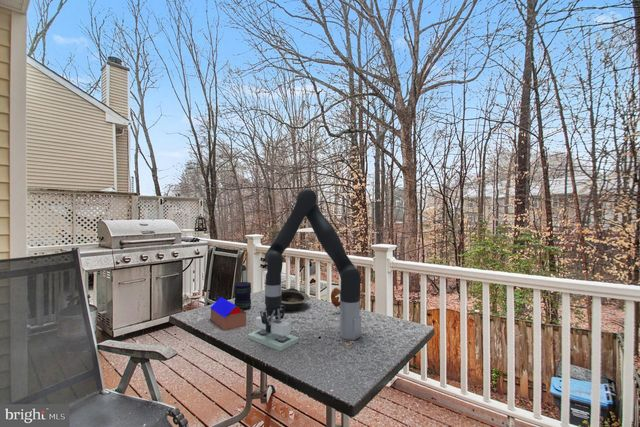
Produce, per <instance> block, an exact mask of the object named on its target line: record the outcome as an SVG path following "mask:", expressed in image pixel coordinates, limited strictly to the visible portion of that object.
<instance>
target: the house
mask: <svg viewBox="0 0 640 427" xmlns="http://www.w3.org/2000/svg"><path fill="white" fill-rule="evenodd" d="M209 309H210V320H211V322H213V323H214V324H215V325H217V326H218V327H220V328H221V329H222V330H224V331H230V330H233V329H237V328H241V327H245V326H247V312H246V311H243V310H242V309H240V308H239V307H238V306H236V305H234V302H233V303H232V302H231V301H229V300H227V299H225V298H224V297H223V296H220V297H219V298H218V299H217V300H216V301H215V302H214V303H213V304H212V305H211V306H210V307H209Z"/></svg>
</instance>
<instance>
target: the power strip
mask: <svg viewBox="0 0 640 427" xmlns="http://www.w3.org/2000/svg"><path fill="white" fill-rule="evenodd" d="M268 322H269V319H268ZM270 325H271V332H274V333H276V334H279V336H278V340H279V342H286V341H285V340H286V339H287V336H285V335H286V334H290V333H292V323H290V322H287V321H284V320H282V319H281V320H278V319H275V317H273V319H272V320H271V324H270ZM255 327H257V328H259V330H260V329H261V330H260V334H262V335H268V334H267V332H266V325H265V324H263V323H262V320H261V315H260V316H257V317H255Z"/></svg>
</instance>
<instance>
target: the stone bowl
mask: <svg viewBox="0 0 640 427" xmlns="http://www.w3.org/2000/svg"><path fill="white" fill-rule="evenodd" d="M309 300H310V297H309V294H307V293H304V292H301V291H300V290H298V289H295V288H287V289H282V300H281V304H280V305H284V306H285V311H286V310H287V311H296V310H299V309H300V308H301V307H302V306H303V305H304V303H306V302H308V301H309Z"/></svg>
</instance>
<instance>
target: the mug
mask: <svg viewBox="0 0 640 427" xmlns="http://www.w3.org/2000/svg"><path fill="white" fill-rule="evenodd" d="M340 293H341V288H338V287H334V288H333V289H332V291H331V293H330V300H331V303H332V305H333V306H334V307H335V308H338V307H340V301H338V300H337V298H336V296H338V295H340Z"/></svg>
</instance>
